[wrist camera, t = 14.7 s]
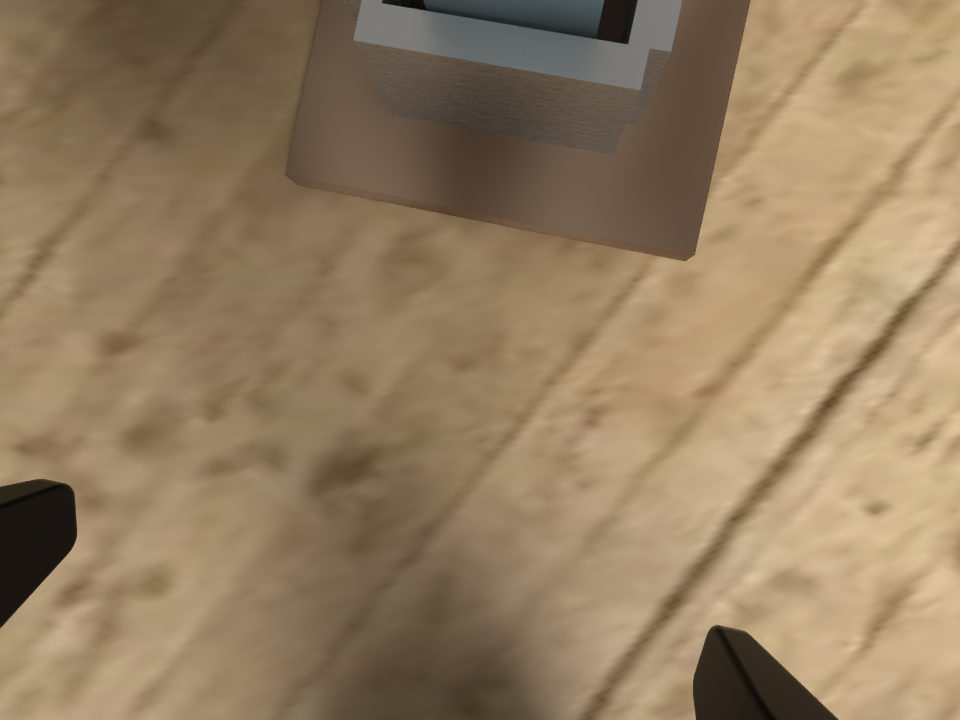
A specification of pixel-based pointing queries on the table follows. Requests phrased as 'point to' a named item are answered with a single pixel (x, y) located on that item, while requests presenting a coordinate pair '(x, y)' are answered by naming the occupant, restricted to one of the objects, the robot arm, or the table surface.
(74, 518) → the robot arm
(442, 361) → the table surface
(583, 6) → the light blue pillar
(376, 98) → the docking socket
